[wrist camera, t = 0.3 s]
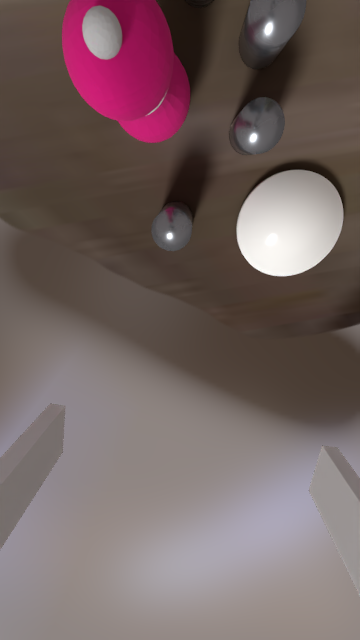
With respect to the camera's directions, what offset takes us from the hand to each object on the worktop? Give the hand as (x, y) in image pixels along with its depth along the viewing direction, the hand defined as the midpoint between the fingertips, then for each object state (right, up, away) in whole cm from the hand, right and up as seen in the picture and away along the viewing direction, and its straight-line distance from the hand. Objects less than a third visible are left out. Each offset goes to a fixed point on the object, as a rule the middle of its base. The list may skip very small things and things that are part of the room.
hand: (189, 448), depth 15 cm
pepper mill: (-3, +29, +15) cm, 33 cm away
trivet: (+12, +18, +20) cm, 30 cm away
